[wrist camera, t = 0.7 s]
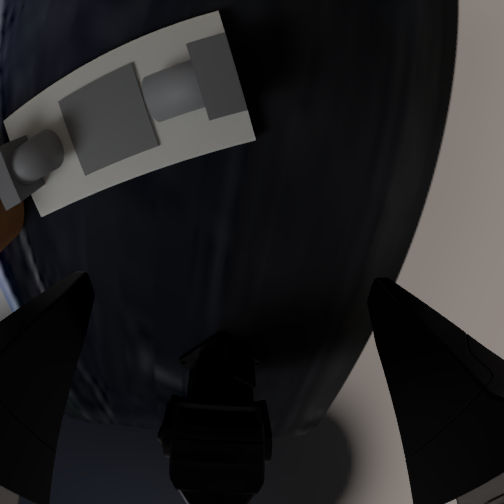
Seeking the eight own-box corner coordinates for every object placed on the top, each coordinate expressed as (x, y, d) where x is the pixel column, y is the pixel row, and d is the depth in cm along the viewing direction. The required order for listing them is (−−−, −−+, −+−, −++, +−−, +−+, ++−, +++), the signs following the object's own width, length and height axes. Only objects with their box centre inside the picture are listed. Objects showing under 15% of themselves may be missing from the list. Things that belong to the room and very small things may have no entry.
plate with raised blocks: (219, 14, 14) (213, -5, 10) (255, 137, 19) (258, 151, 15) (10, 118, 16) (-25, 131, 12) (47, 211, 21) (19, 237, 17)
